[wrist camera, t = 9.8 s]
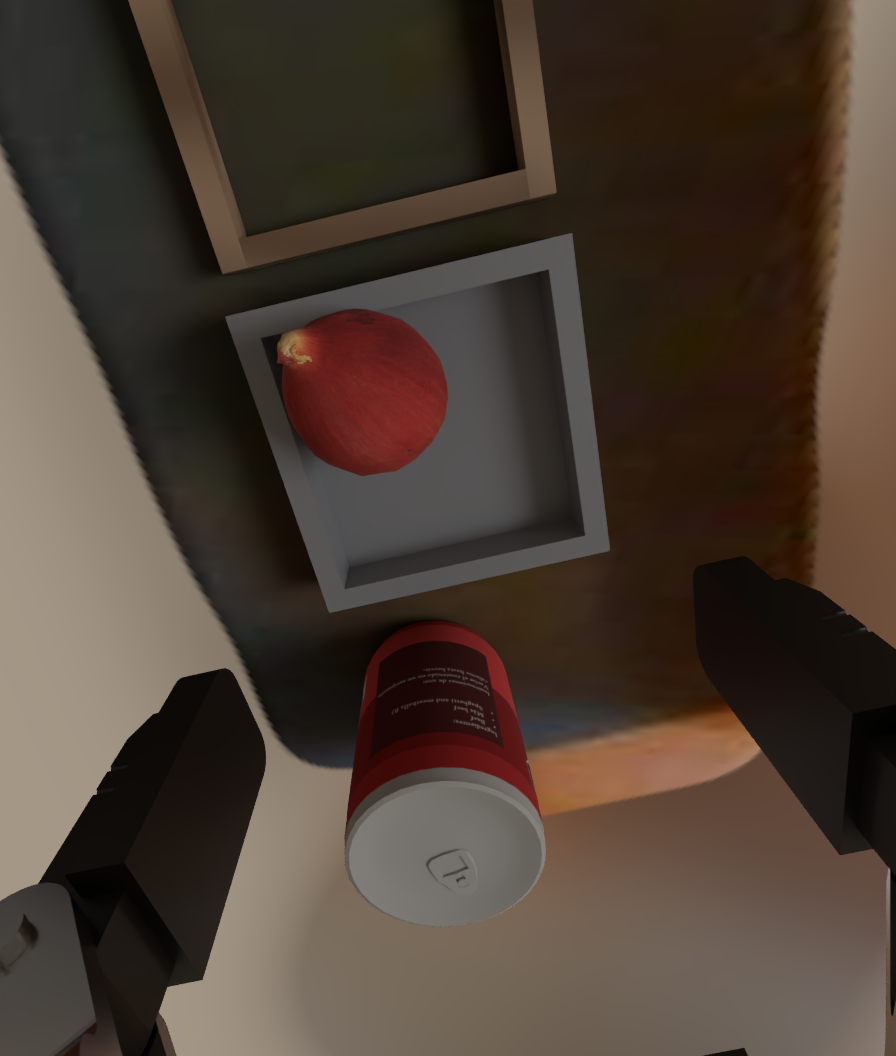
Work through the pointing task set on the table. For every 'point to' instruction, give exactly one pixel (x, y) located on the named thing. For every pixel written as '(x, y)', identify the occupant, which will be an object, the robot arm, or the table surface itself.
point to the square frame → (364, 224)
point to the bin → (452, 431)
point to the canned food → (441, 783)
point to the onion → (362, 390)
